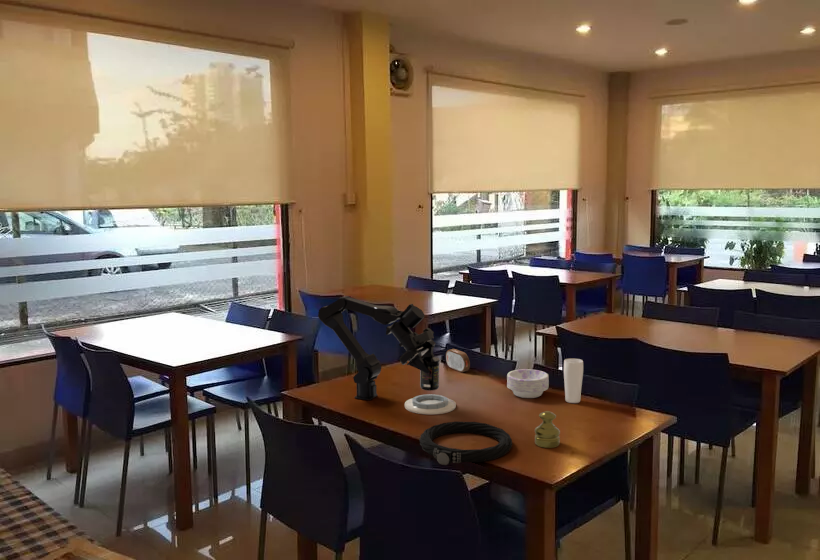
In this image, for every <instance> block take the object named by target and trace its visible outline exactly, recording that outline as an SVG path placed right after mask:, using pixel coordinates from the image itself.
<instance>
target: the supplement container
mask: <svg viewBox="0 0 820 560" xmlns="http://www.w3.org/2000/svg"><path fill="white" fill-rule="evenodd" d="M422 360H423V361H424V363H425V364H426V366H427V367H428V369H429V371H430V372H429V373H428V374H427V373H425V372H423V371H421V370H419V371H420V373H419V376H420V377H419V380H420V381H419V387H420V388H421V390H423V391H430V392H431V391H436V390H438V389H439V388H440V358H438V357H435V356H434V357H424V358H422Z"/></svg>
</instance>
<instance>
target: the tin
mask: <svg viewBox="0 0 820 560" xmlns="http://www.w3.org/2000/svg"><path fill="white" fill-rule="evenodd" d="M445 363H446V364H447V366H448V367H449V368H450V369H452V370H454V371H457V372H459V373H465V372H468V371H470V368H471V362H470V358H469V356H468V355H467V353H466V352H464V351H461V350H459V349H455V348H452V349H448V350H447V351H446V352H445Z"/></svg>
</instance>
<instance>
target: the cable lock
mask: <svg viewBox="0 0 820 560" xmlns="http://www.w3.org/2000/svg"><path fill="white" fill-rule="evenodd" d="M457 433H458V434H464V433H465V434H466V433H470V434H476V435H477V434H478V435H483V436H487V437H491V438H494V440H497V441H498V443H497V444H496V445H494V446H489V447H486V448H485V447H484V448H481V449H480V448H479V449H474V448H473V449H463V448H462V449H460V448H451V447H446V446H444V445H440V444H437V443H435V442H434V441H433V440H434V439H436V438H437V437H441V436H445V435H450V434H457ZM418 439H419V445H420V446H421V449H422V450H423V451H424V452H425V453H427V454H428V455H430V456H433V458H434V459H436V460H437V462H438V464H439V465H442V466H447V465H451V463H453V464H461V463H483V462H486V461H493V460H495V459H498V458H500V457H503V456H505V455H506V454H507V453H509V452H510V450H511V449H512V446H513V439H512V437H511V436H510V434H509V433H508V432H507V431H505V430H504V429H503V428H500V427H497V426H495V425H491V424H489V423H484V422H477V421H451V422H443V423H440V424H435V425H432V426H431V427H428V428H426V429H425V430H424V431H423V432H422V433H421V434H420V437H419V438H418Z"/></svg>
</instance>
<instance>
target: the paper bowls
mask: <svg viewBox="0 0 820 560" xmlns="http://www.w3.org/2000/svg"><path fill="white" fill-rule="evenodd" d="M506 380H507V382H506V387H507V389H509V390H511V391H512V393H513V395H514V396H516V397H518V398H522V399H535V398H539V397H540V396H542V395H543V393H544V391H547V390H548V389H549V384H550V381H549V373H547V372H545V371H542V370H538V369H532V368H531V369H528V368H523V369H520V368H519V369H514V370H511V371H509V372H508V373H507V375H506Z"/></svg>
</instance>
